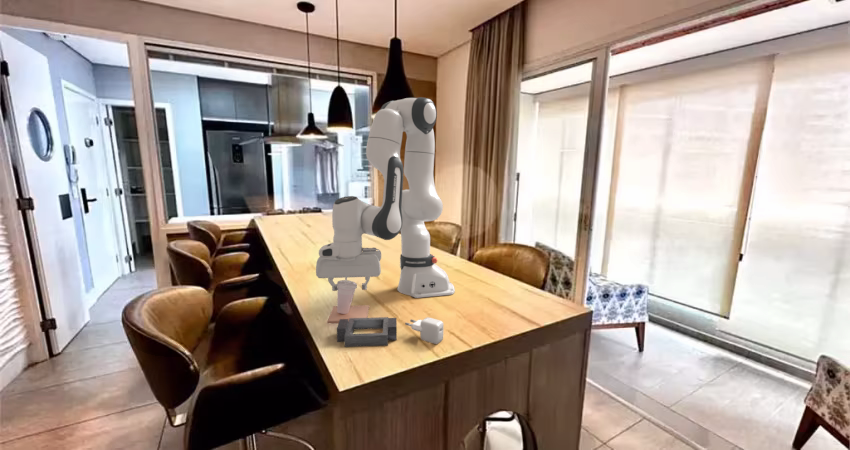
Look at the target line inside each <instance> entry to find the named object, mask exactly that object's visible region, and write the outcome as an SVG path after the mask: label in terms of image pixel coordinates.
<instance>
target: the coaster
mask: <svg viewBox="0 0 850 450" xmlns="http://www.w3.org/2000/svg"><path fill="white" fill-rule="evenodd" d="M369 310H370V305H369V304H365V305H363V304H362V305H360V304H359V305H351V306H350V309H349V312H348V313H347V314H340V313H338V312H337V305H333V307H332V309H331V312H330V314H329V316H328V318H327V321H326V324H328V325H330V324H338V323H339V321H340V319H348V322H349V318H369V317H368V316H369Z"/></svg>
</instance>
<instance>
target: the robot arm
mask: <svg viewBox="0 0 850 450" xmlns="http://www.w3.org/2000/svg"><path fill="white" fill-rule="evenodd" d="M437 115H438V112H437V106H436V105H435V103H434V101H432V99H430V98H428V97H427V98H426V97H406V98H402V99H397V100H390V101H387V102H385V103H384V104H382V106H381V108H380V109H379V110H377V112H376V113H375V115H374V117H373V120H372V123H371V127H370V128H369V132H368V138H367V143H366V148H365V149H366V150H365V154H366V155H365V156H366V159H367V161H368V162H369V163H370V165H371V166H372V167H373V168H375V169H377V171H379V172H380V173H381V175H382V177H383V192H382V193H383V194H382V202H381V203H382V204H381V206H377V205H372V204H370V203H366V202H364V201H362V200H361V199H359V198H358V197H357V196H354V195H350V196H349V195H347V196H343V197H340V198H337V199H336V200H335V201H334V202H333V206H332V211H331V213H332V217H331V219H332V221H331V222H332V229H333V238H332V240H333V241H332V242H331V243H328V244H325V245H324V244H323V246H321V247H320V248H319V250H318V256H319V257H318V258H317V259H316V265H315V276H316V277H317V278H318V279H327V281H328V283H329V284H330V286H331V290H332V292H338V287H337V283H335V281H334V279H339V278H340V279H342V278H344V279H345V278H346V277H347V278H364V280H365V282H363V283H361V290H362V291H367V288H368V286H367V285H368V283H369V282H370V281H371V280H370V279H371V278H372V277H374V278H376V277H377V278H378V277H379V276H380V275H381V273H382V271H381V269H382V268H381V259H382V251H381V250H380V249H378V248H377V247H363V238H362V237H363V235H365V234H367V235H369V236H372V237H376V238H378V239H381V240H384V241H390V240H392V239H395V238H396V237H397V236H398V235H399V233H400V237H401V245H400V246H401V254H400V257H399V268H400V275H399V281H398V285H397V289H396V290H397V291H398V293H400V294H404V295H407V296H411V297H413V298H415V299H419V298H429V297H438V296H439V297H440V296H449V295H450V296H451V295H453V294H454V293H456V292H455V291H456V290H455V286H454V284H453V283H452V282H450V279H449V276H448V274H447V272H446V271H445V270H444V269H443V268H441V267H440V266H439V265H437V262H438V259H437V257H436V256H435V255H434V254H431V235H430V232H429V230H428V229H427V227H426V225H425V222H433V221H436V220H438V219H439V218H440V217H441V215H442V213H443V208H444V206H443V205H444V204H443V201H442V199H441V198H440V196H439V194H438V192H437V189H436V184H435V179H434V168H435V167H434V166H435V150H436V142H435V141H436V140H435V132H434V126H435V124H436V121H437V117H438V116H437ZM404 132H405V134H406V140H405V148H404V161H402V160H401V148H402V143H403V142H402V141H403V133H404ZM404 176H405V178H406V180H407V183H408V189H404V187H403V186H404Z"/></svg>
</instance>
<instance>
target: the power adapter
mask: <svg viewBox="0 0 850 450" xmlns="http://www.w3.org/2000/svg"><path fill="white" fill-rule="evenodd" d="M410 322H411V323H409V322H405V323H404V324H405V326H408V327H411V329H412V330H413V331H417V332H420V334H419V335H420V339H421V341H424V342H426V343H430V344H434V345H438V344H440V343H441V342H442V341H443V340H444V322H443V321H442V320H440V319H437V318H432V317H428V316H427V317H425V318H424V319H417V320H415V319H410Z"/></svg>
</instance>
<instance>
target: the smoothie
mask: <svg viewBox="0 0 850 450" xmlns="http://www.w3.org/2000/svg"><path fill="white" fill-rule="evenodd" d="M336 284H337V287H338V290H337V291H336V292H337V293H336V294H337V297H336V298H337V299H336V300H337V301H336V303H337V304H336V306H337V312H338V313H340V314H347V313H348V312H349V309H350V306H352V305H351V304H352V301H353V299H354V295H355V291H356V289H357V287H358V284H357V283H356V282H355V281H352V280H348V277H346V278H344V279H343V280H338V281H337V282H336Z"/></svg>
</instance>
